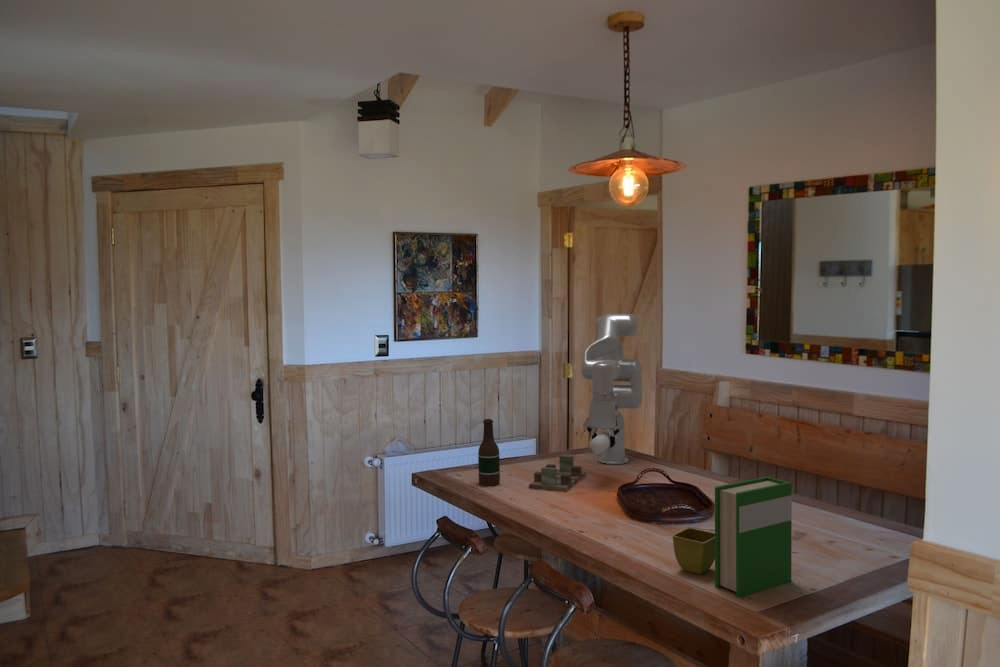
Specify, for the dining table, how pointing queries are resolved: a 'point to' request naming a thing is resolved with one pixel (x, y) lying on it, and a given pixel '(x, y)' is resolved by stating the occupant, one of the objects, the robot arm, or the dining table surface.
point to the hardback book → (753, 535)
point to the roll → (601, 441)
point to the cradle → (558, 475)
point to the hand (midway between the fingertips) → (603, 445)
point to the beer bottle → (488, 457)
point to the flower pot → (694, 549)
